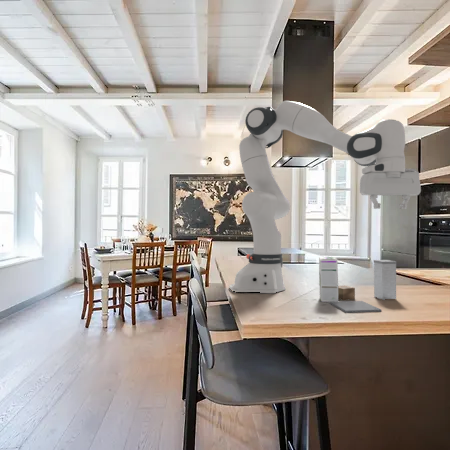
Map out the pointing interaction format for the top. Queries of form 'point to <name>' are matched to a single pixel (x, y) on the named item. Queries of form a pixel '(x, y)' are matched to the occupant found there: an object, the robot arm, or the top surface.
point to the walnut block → (346, 292)
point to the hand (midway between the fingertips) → (390, 208)
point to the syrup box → (328, 279)
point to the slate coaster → (355, 306)
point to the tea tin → (385, 279)
